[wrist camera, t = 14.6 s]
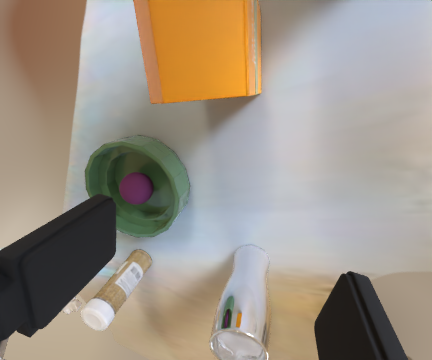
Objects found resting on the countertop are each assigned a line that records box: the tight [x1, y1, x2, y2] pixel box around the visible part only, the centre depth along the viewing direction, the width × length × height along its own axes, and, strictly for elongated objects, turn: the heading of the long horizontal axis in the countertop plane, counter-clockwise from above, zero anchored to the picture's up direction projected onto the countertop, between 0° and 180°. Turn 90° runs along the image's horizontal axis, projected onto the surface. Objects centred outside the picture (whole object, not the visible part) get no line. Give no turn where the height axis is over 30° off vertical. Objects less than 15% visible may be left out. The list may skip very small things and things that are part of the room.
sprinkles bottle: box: [80, 250, 152, 331], centre depth 39 cm, size 5×5×14 cm
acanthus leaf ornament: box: [62, 297, 81, 314], centre depth 55 cm, size 8×7×2 cm
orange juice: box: [133, 0, 261, 104], centre depth 19 cm, size 8×9×20 cm
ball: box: [119, 172, 154, 205], centre depth 35 cm, size 5×5×5 cm
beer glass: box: [209, 245, 271, 360], centre depth 32 cm, size 7×7×15 cm
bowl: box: [85, 135, 190, 237], centre depth 36 cm, size 15×15×5 cm
